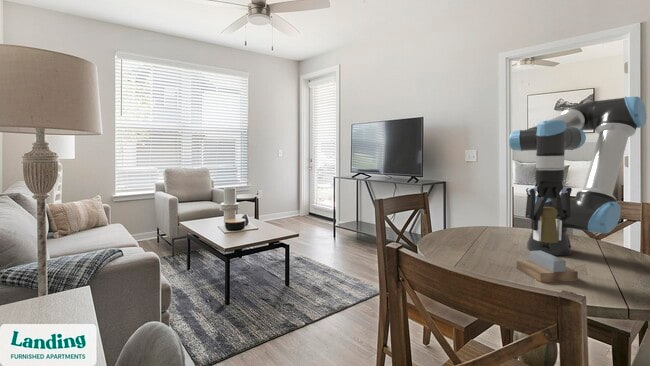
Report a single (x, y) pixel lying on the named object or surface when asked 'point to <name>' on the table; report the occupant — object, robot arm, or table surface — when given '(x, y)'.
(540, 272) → the wooden flat board
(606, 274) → the table surface
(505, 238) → the table surface
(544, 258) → the slate-grey block
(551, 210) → the olive ball-ended rod
